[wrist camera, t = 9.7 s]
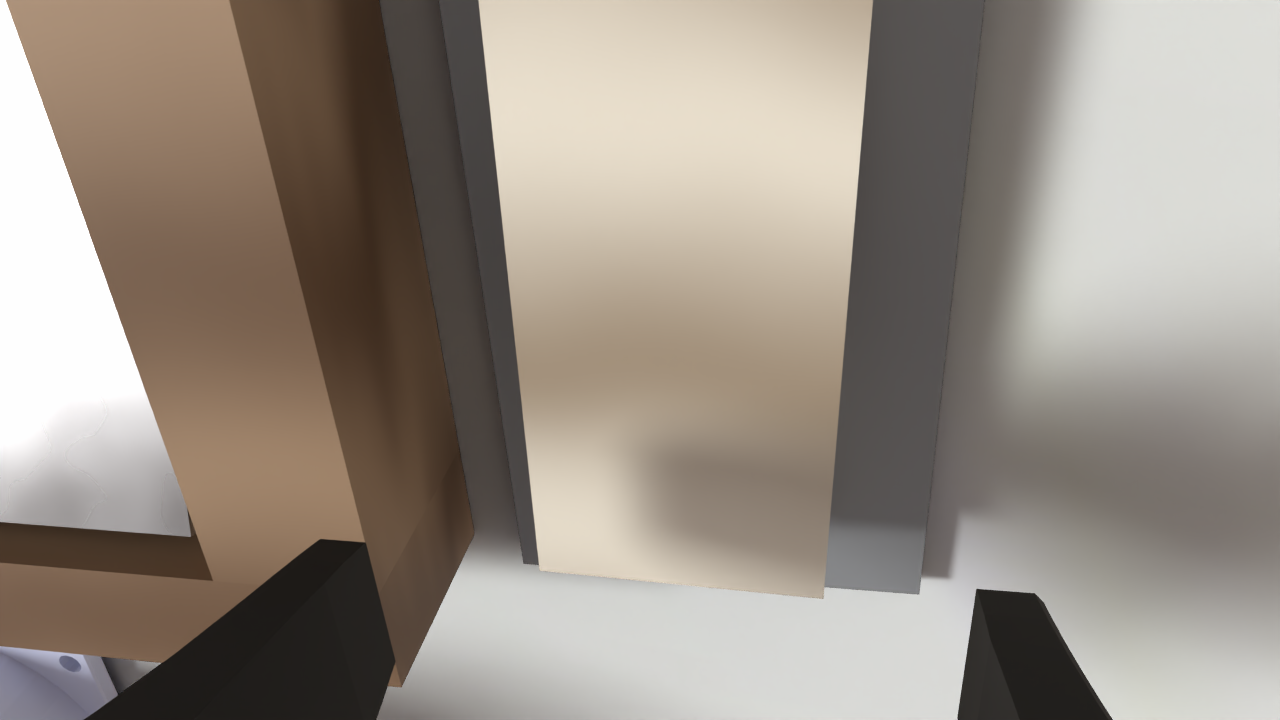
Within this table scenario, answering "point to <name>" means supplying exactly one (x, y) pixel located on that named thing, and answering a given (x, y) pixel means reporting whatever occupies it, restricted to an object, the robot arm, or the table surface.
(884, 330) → the slate mat
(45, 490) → the tipping switch rocker
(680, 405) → the birch bar
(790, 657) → the table surface
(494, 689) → the table surface
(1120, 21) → the table surface
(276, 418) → the walnut board
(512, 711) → the table surface
